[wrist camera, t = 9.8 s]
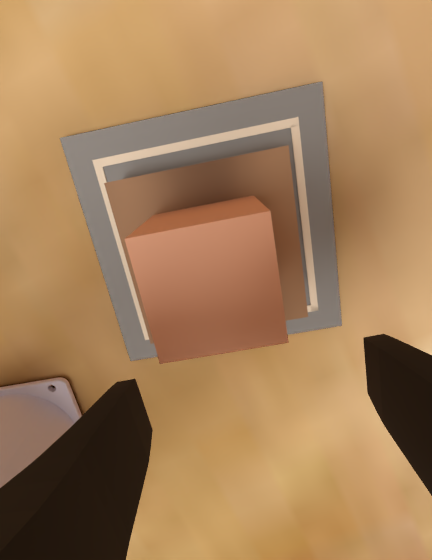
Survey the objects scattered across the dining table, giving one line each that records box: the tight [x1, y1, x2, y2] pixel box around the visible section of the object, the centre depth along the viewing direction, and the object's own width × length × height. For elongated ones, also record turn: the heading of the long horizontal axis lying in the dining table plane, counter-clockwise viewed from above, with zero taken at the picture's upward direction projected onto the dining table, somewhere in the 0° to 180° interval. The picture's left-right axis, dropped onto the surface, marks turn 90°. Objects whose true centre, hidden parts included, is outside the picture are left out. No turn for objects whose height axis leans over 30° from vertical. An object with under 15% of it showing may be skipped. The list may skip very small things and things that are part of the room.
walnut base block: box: [104, 145, 308, 344], centre depth 17 cm, size 8×8×3 cm
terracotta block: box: [125, 195, 289, 364], centre depth 13 cm, size 4×4×5 cm
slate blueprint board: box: [60, 82, 342, 361], centre depth 19 cm, size 13×13×1 cm
